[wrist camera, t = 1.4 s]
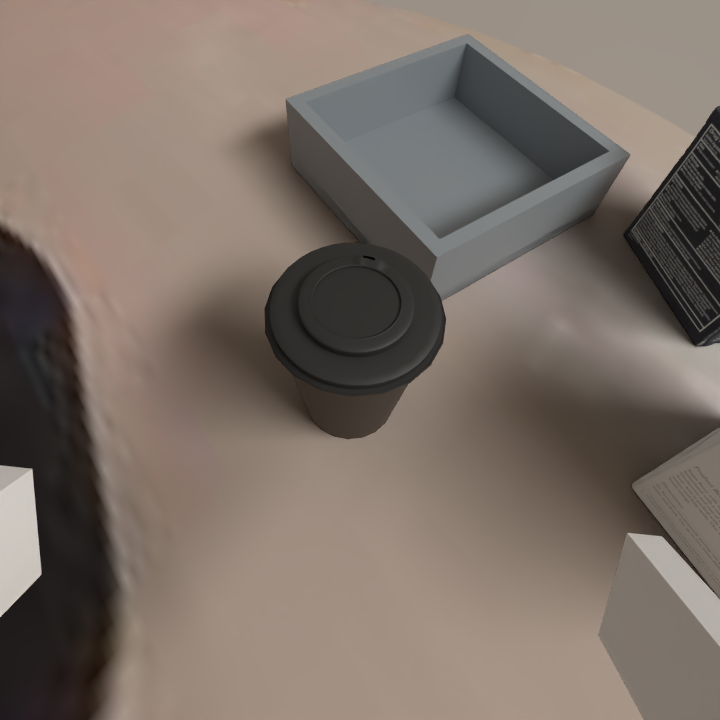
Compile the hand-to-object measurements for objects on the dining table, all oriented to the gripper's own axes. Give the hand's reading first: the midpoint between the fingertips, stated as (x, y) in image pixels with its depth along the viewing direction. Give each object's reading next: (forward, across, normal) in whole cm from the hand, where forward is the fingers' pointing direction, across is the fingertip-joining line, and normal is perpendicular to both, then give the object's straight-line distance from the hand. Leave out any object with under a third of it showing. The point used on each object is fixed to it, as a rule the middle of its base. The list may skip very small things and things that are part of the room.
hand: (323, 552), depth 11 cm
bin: (+32, +5, +10) cm, 34 cm away
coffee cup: (+19, 0, -3) cm, 19 cm away
